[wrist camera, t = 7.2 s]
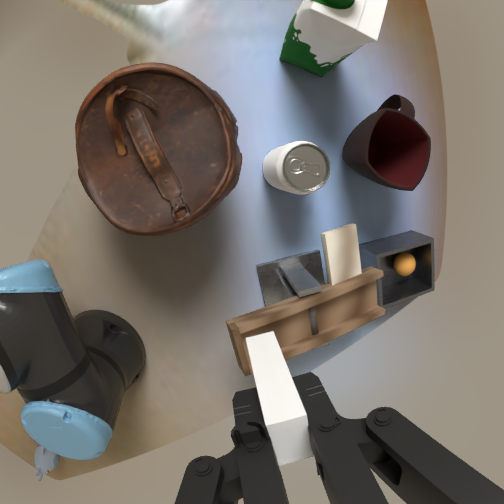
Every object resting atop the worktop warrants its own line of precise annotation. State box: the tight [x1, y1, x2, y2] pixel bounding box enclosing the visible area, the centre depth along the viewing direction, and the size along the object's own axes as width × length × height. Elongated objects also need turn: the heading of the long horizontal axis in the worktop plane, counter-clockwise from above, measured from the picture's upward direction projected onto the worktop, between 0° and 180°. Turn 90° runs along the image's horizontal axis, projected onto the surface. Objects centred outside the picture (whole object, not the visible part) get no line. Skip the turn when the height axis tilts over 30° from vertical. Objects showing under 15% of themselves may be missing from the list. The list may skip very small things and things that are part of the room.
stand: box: [257, 250, 329, 350], centre depth 46 cm, size 10×11×11 cm
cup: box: [343, 95, 431, 191], centre depth 41 cm, size 10×14×12 cm
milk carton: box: [280, 0, 388, 77], centre depth 32 cm, size 9×9×20 cm
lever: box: [226, 224, 385, 376], centre depth 40 cm, size 22×14×3 cm, turn 103°
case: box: [75, 63, 242, 236], centre depth 35 cm, size 18×20×18 cm
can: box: [263, 141, 330, 195], centre depth 40 cm, size 6×6×12 cm
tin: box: [359, 231, 434, 309], centre depth 49 cm, size 11×9×6 cm
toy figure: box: [34, 445, 59, 481], centre depth 49 cm, size 11×6×12 cm, turn 166°
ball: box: [394, 252, 416, 276], centre depth 50 cm, size 4×4×4 cm
